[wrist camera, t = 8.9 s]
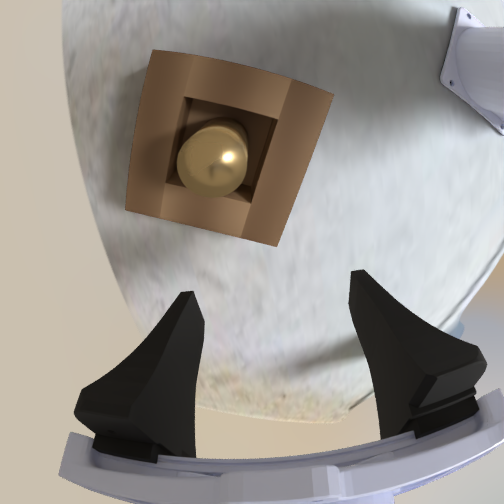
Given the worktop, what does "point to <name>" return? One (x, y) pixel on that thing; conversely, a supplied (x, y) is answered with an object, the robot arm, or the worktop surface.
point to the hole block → (259, 145)
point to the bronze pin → (214, 158)
